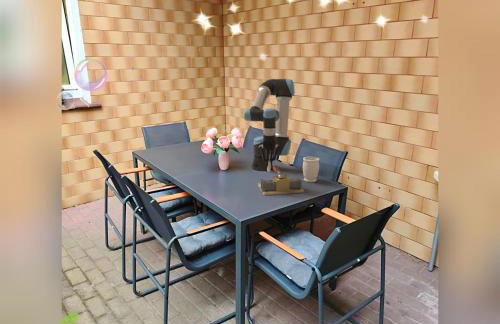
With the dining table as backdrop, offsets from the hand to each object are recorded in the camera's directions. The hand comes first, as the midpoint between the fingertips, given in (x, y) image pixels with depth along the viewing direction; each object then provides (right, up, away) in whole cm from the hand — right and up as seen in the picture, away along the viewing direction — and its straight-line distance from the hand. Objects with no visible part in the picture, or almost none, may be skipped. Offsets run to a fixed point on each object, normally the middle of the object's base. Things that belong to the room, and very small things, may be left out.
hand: (268, 171), depth 221 cm
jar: (+28, -6, +13) cm, 31 cm away
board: (+7, -11, -2) cm, 13 cm away
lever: (+6, -1, -1) cm, 6 cm away
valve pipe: (+7, -12, -6) cm, 15 cm away
